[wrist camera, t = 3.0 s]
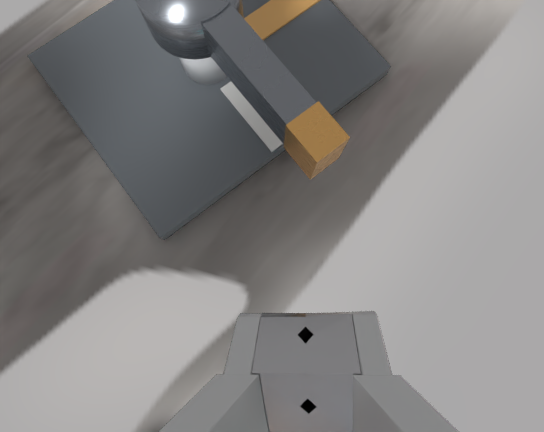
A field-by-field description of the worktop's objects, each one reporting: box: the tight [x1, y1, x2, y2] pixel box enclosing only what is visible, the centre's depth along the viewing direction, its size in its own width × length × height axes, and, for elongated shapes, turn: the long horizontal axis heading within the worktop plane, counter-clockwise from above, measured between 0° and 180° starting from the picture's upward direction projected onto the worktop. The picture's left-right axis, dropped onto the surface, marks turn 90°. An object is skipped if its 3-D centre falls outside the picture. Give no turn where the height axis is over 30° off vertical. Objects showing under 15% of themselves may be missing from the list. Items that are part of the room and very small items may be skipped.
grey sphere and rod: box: [135, 0, 350, 180], centre depth 23 cm, size 7×18×4 cm, turn 38°
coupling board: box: [28, 0, 391, 240], centre depth 27 cm, size 24×20×10 cm
